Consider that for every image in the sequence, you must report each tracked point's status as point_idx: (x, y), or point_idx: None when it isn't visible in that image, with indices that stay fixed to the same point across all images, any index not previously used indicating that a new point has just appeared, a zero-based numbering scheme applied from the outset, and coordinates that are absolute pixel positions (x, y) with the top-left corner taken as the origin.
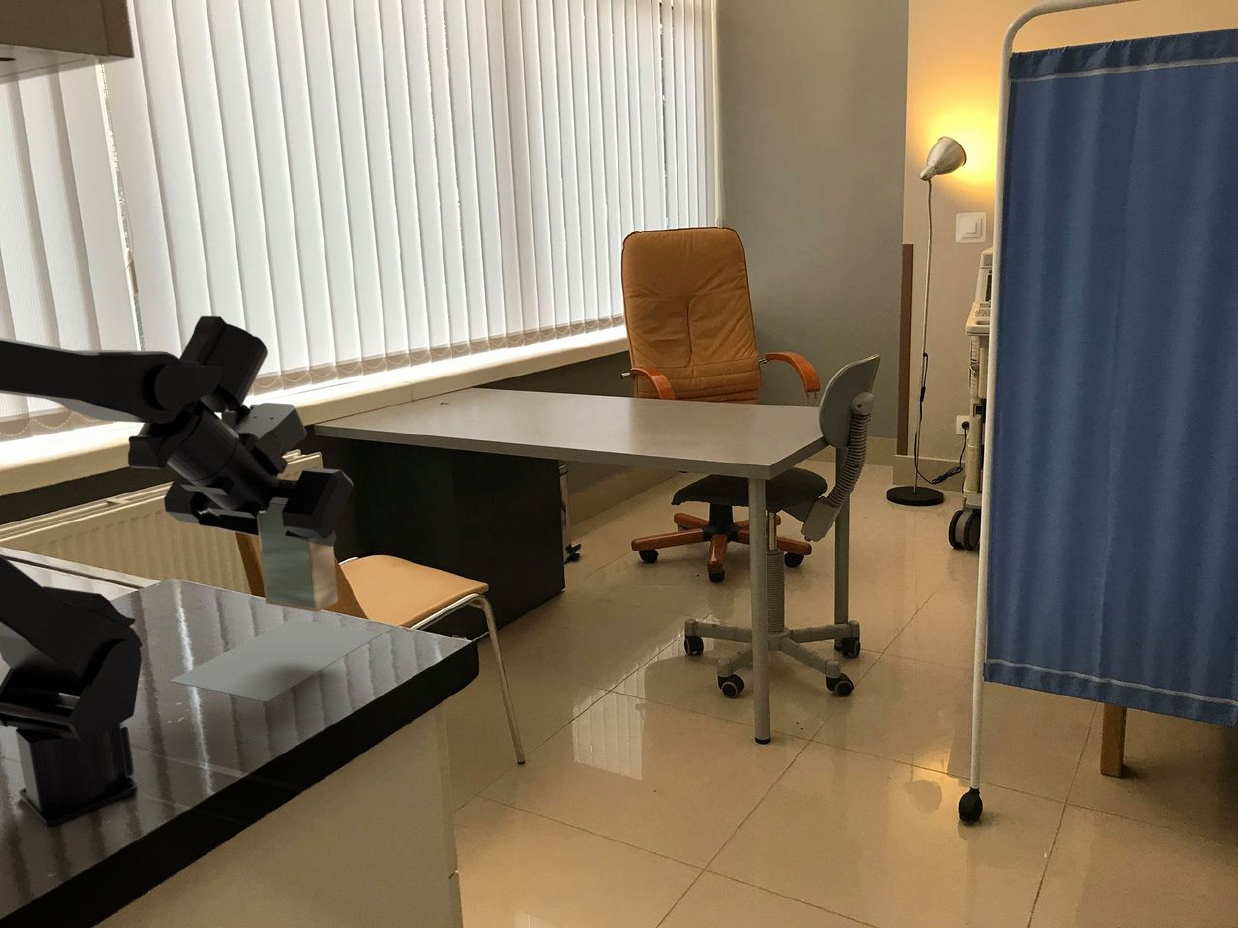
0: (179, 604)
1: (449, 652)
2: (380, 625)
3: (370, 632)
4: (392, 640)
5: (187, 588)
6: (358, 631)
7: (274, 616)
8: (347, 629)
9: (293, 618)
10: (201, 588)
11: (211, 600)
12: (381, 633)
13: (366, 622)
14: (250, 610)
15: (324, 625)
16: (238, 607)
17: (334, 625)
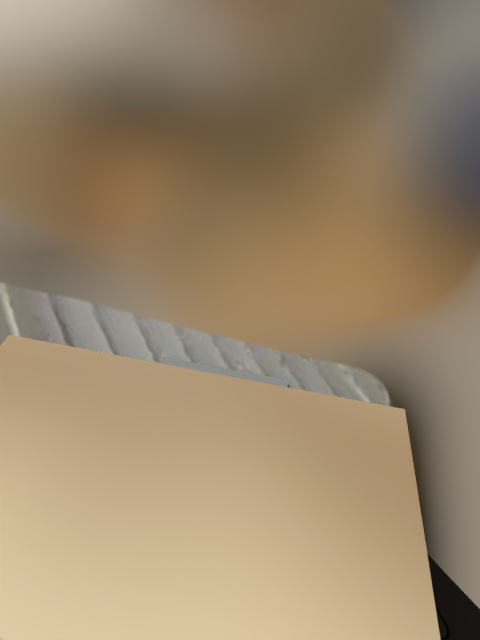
0: (15, 332)
1: (385, 405)
2: (264, 348)
3: (273, 380)
4: (300, 384)
5: (15, 294)
6: (258, 380)
7: (136, 344)
8: (242, 376)
9: (164, 357)
10: (30, 292)
11: (50, 317)
12: (287, 381)
13: (245, 343)
14: (102, 334)
15: (210, 370)
16: (86, 329)
17: (221, 368)
